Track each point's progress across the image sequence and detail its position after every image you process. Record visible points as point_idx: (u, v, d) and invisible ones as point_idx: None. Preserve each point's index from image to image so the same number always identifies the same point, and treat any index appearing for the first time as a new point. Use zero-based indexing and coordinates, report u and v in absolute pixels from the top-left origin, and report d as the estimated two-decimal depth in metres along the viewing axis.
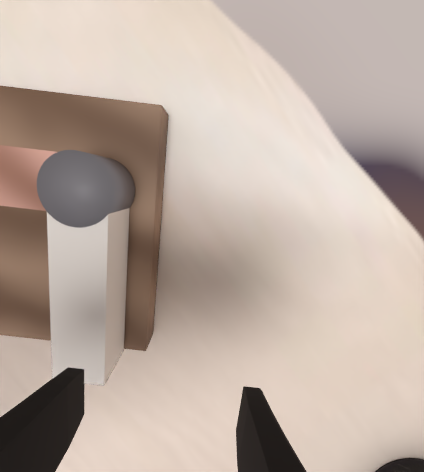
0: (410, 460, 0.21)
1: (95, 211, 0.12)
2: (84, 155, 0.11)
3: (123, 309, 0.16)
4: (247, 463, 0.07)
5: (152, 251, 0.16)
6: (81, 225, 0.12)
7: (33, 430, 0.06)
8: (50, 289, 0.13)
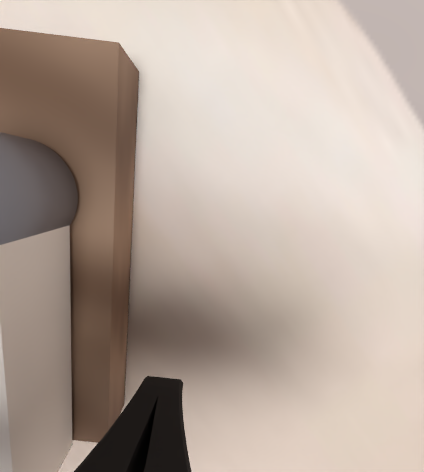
0: None
1: None
2: None
3: (66, 388, 0.10)
4: None
5: (112, 294, 0.10)
6: None
7: (142, 441, 0.06)
8: None
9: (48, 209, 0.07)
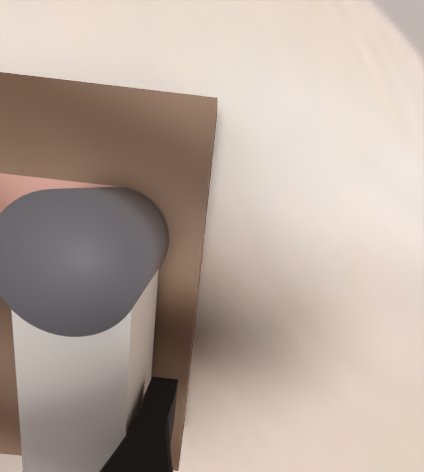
0: None
1: (107, 308, 0.06)
2: (84, 200, 0.05)
3: None
4: None
5: (192, 331, 0.10)
6: (79, 331, 0.06)
7: (161, 444, 0.06)
8: (23, 432, 0.07)
9: (158, 262, 0.07)
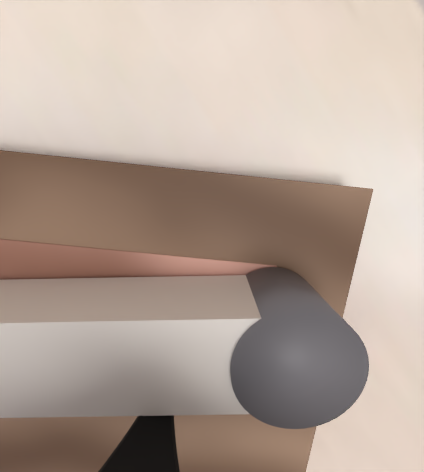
0: None
1: (264, 405, 0.07)
2: (358, 385, 0.06)
3: None
4: None
5: None
6: (234, 380, 0.06)
7: (160, 444, 0.06)
8: (93, 318, 0.06)
9: None
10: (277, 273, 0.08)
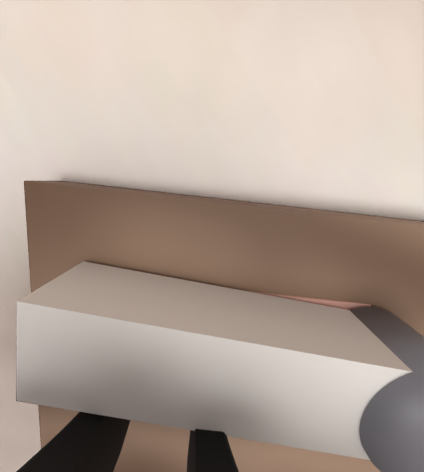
0: None
1: (387, 455, 0.06)
2: None
3: None
4: (190, 457, 0.07)
5: None
6: (366, 425, 0.06)
7: (99, 436, 0.06)
8: (242, 338, 0.06)
9: None
10: (389, 317, 0.08)
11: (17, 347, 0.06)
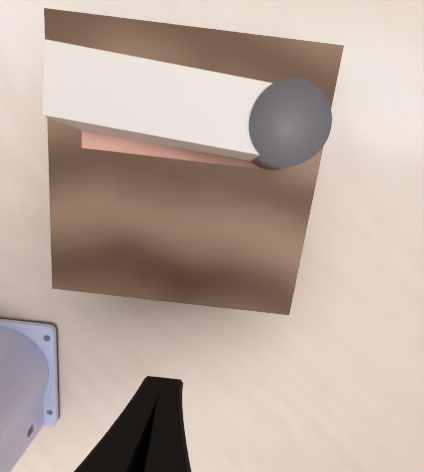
0: None
1: (265, 142, 0.11)
2: (323, 140, 0.11)
3: (135, 139, 0.13)
4: None
5: (309, 207, 0.15)
6: (251, 123, 0.11)
7: (142, 442, 0.06)
8: (175, 65, 0.10)
9: (267, 166, 0.13)
10: None
11: (43, 73, 0.10)
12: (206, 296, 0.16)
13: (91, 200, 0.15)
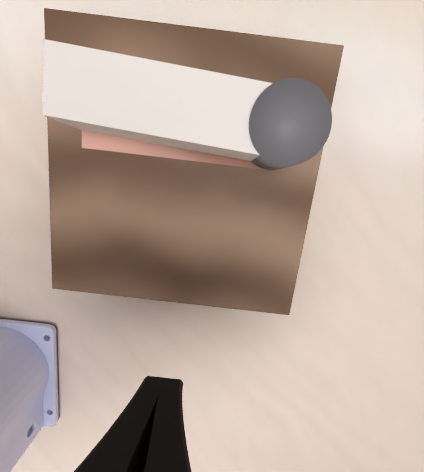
0: None
1: (265, 142, 0.11)
2: (323, 140, 0.11)
3: (135, 139, 0.13)
4: None
5: (309, 207, 0.15)
6: (251, 123, 0.11)
7: (142, 442, 0.06)
8: (175, 65, 0.10)
9: (267, 166, 0.13)
10: None
11: (43, 73, 0.10)
12: (206, 296, 0.16)
13: (91, 200, 0.15)
